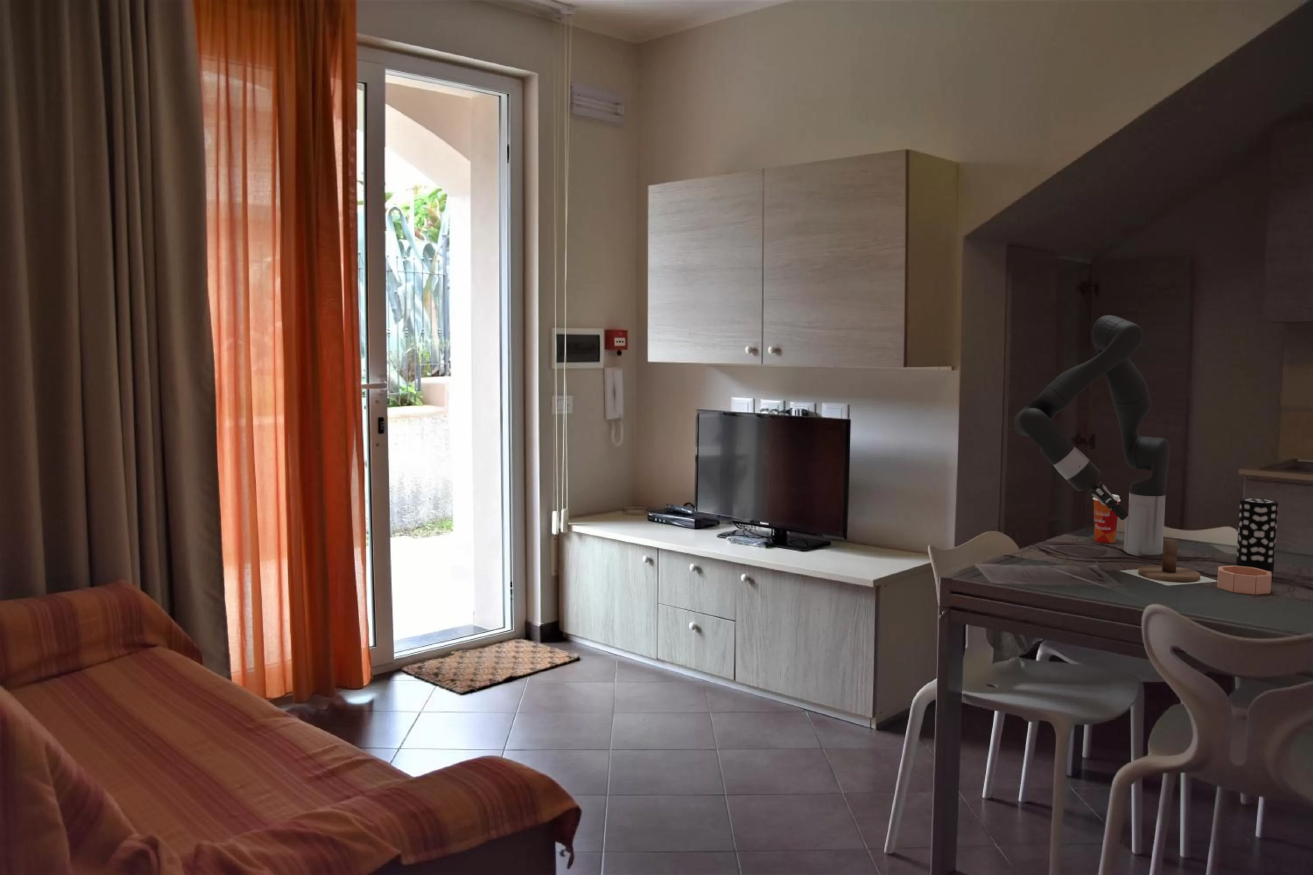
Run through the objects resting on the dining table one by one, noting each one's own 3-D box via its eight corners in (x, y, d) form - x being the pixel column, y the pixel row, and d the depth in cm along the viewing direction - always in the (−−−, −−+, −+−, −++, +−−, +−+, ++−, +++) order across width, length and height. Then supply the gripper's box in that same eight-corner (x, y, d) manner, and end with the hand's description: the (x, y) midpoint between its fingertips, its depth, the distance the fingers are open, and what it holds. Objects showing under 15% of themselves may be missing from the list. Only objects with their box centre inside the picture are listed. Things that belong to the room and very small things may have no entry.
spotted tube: (1227, 575, 257) (1232, 499, 255) (1251, 573, 260) (1256, 497, 258) (1257, 583, 250) (1262, 504, 248) (1280, 580, 253) (1286, 502, 251)
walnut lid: (1125, 571, 258) (1127, 536, 257) (1169, 568, 262) (1171, 533, 261) (1167, 584, 245) (1169, 547, 244) (1213, 580, 249) (1215, 544, 248)
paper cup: (1085, 539, 303) (1087, 493, 302) (1105, 538, 305) (1108, 492, 304) (1103, 544, 296) (1106, 497, 294) (1124, 543, 298) (1127, 496, 297)
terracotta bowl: (1206, 587, 245) (1207, 567, 245) (1242, 584, 248) (1243, 564, 248) (1244, 598, 235) (1245, 577, 234) (1281, 595, 238) (1282, 574, 237)
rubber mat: (1119, 573, 259) (1119, 570, 259) (1169, 569, 263) (1170, 566, 263) (1166, 588, 244) (1167, 585, 244) (1219, 584, 248) (1219, 581, 248)
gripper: (1092, 462, 249) (1139, 509, 247) (1084, 455, 263) (1129, 500, 261) (1068, 482, 251) (1115, 529, 249) (1061, 474, 265) (1106, 519, 263)
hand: (1122, 514), depth 255 cm, fingers open, 8 cm apart
